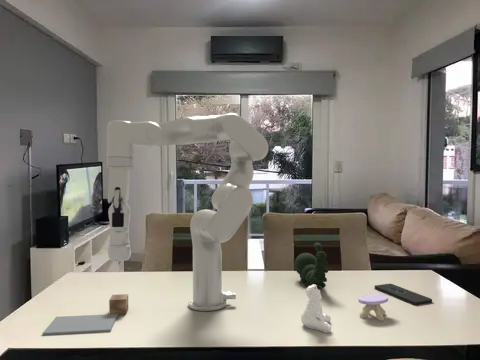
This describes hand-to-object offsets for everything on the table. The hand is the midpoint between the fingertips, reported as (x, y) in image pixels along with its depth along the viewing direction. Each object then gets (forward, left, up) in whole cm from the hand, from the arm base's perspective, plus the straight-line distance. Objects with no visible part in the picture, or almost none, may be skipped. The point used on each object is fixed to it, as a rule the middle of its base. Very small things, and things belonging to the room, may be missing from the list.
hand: (119, 224), depth 119 cm
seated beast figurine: (-56, +10, -29) cm, 64 cm away
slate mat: (+11, 0, -29) cm, 31 cm away
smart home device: (-95, -13, -30) cm, 101 cm away
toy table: (-76, +4, -29) cm, 82 cm away
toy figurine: (-67, -30, -29) cm, 79 cm away
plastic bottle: (0, 0, -11) cm, 11 cm away
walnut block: (+2, -9, -29) cm, 31 cm away
